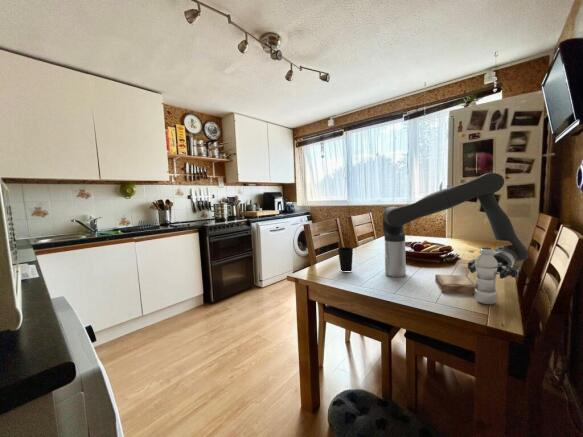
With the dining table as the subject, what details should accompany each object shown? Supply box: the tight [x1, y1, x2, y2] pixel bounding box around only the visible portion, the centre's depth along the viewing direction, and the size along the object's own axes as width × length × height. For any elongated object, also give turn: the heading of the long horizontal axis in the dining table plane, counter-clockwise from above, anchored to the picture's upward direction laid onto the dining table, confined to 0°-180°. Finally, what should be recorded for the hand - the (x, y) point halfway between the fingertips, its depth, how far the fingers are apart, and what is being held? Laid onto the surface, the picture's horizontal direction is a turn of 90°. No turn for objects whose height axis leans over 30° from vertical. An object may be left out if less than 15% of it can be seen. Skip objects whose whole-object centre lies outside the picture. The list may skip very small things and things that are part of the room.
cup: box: [337, 246, 354, 271], centre depth 133 cm, size 8×8×12 cm
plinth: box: [434, 274, 476, 295], centre depth 105 cm, size 12×12×3 cm
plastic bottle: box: [473, 246, 498, 305], centre depth 90 cm, size 6×7×20 cm
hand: (485, 272), depth 89 cm, fingers open, 8 cm apart
